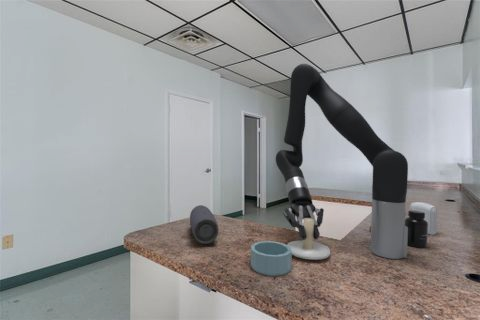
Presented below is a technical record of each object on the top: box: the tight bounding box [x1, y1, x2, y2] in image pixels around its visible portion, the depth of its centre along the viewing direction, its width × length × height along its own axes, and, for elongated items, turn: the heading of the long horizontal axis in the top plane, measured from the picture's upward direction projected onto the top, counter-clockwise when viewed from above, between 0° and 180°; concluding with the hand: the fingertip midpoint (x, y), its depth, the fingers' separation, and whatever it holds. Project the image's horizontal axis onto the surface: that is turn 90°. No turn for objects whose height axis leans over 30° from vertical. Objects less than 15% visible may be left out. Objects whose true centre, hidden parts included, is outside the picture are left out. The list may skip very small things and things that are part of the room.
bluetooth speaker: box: [189, 205, 219, 245], centre depth 91 cm, size 23×9×10 cm, turn 14°
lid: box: [286, 218, 331, 261], centre depth 77 cm, size 13×13×10 cm
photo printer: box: [409, 201, 438, 236], centre depth 105 cm, size 10×4×12 cm, turn 13°
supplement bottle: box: [405, 209, 429, 249], centre depth 88 cm, size 7×7×12 cm
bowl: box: [250, 240, 293, 277], centre depth 68 cm, size 11×11×5 cm
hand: (310, 238), depth 75 cm, fingers closed on lid, 3 cm apart
